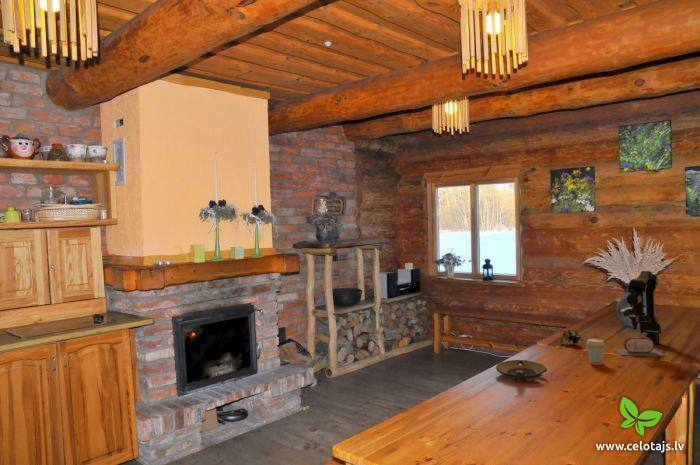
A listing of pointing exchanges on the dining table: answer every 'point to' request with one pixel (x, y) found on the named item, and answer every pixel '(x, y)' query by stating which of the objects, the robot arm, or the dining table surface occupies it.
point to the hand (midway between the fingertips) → (638, 331)
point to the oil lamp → (521, 369)
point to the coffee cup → (595, 351)
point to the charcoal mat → (626, 353)
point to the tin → (638, 344)
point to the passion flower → (570, 337)
